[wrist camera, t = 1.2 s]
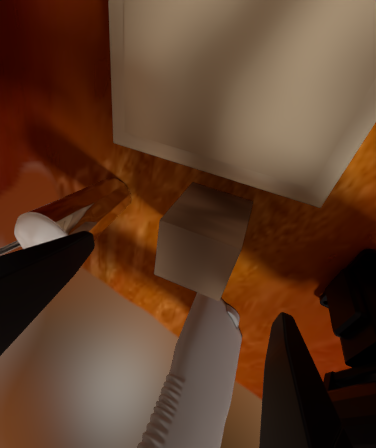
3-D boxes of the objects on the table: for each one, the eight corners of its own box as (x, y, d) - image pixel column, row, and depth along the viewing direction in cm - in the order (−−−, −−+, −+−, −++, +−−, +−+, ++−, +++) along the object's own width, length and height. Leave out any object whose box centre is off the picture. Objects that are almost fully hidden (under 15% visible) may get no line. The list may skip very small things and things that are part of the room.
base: (496, -114, 8) (575, -186, 6) (315, 190, 15) (320, 209, 13) (137, -133, 10) (99, -186, 8) (132, 135, 17) (112, 143, 15)
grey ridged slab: (185, 282, 25) (-42, 753, 8) (218, 278, 22) (3, 926, 5) (224, 341, 28) (130, 749, 11) (255, 343, 26) (197, 851, 9)
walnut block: (253, 201, 17) (241, 249, 12) (234, 248, 20) (219, 301, 15) (192, 182, 18) (159, 219, 13) (183, 229, 21) (154, 274, 16)
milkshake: (83, 171, 21) (-34, 227, 13) (129, 169, 19) (23, 233, 11) (100, 212, 23) (8, 281, 16) (143, 214, 21) (62, 294, 14)
